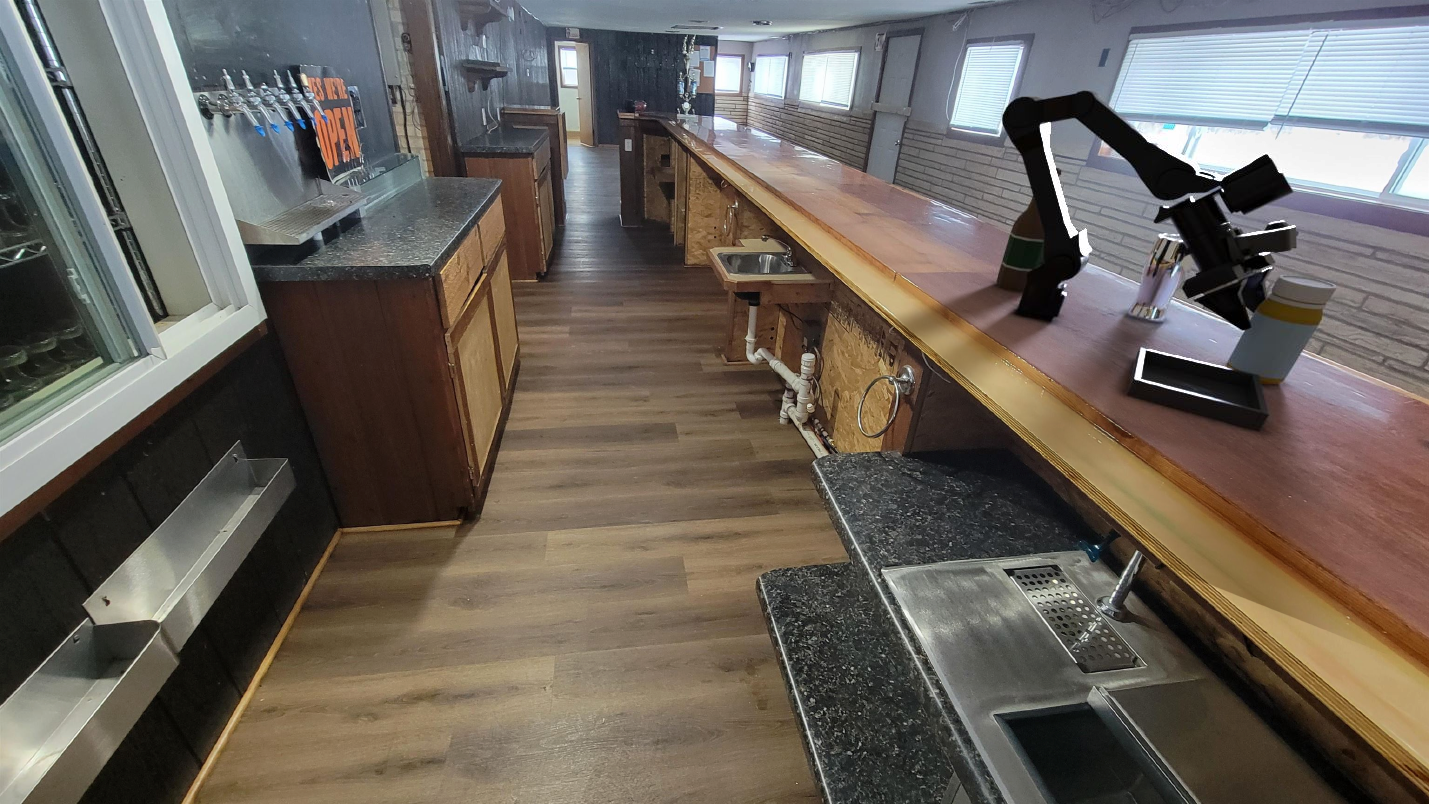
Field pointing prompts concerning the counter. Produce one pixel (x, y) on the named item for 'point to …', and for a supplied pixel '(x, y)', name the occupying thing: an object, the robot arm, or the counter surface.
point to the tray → (1199, 388)
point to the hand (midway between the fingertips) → (1257, 323)
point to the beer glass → (1161, 278)
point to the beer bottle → (1022, 249)
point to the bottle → (1281, 328)
